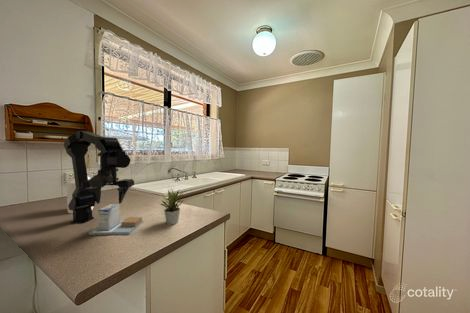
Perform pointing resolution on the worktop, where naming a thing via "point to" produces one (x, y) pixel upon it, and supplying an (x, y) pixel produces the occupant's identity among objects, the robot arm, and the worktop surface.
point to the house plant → (172, 207)
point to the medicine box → (109, 216)
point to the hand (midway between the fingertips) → (109, 203)
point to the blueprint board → (120, 227)
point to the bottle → (71, 191)
